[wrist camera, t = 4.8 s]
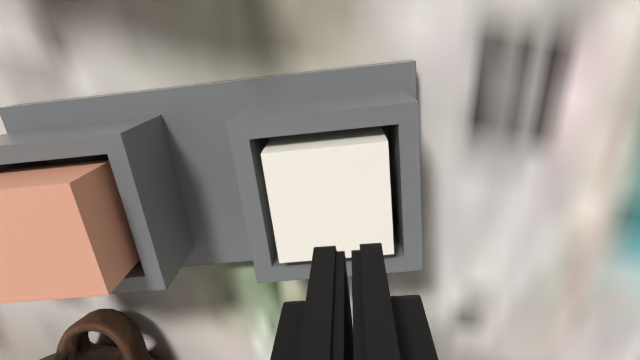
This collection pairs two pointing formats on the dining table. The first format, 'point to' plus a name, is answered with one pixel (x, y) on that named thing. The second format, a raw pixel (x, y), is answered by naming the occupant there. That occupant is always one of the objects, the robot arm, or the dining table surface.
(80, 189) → the key terracotta
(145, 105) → the key panel
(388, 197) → the key cream
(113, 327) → the dish
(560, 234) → the dining table surface
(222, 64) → the dining table surface
